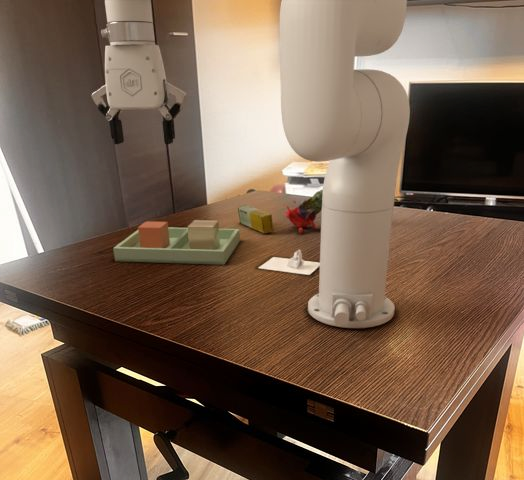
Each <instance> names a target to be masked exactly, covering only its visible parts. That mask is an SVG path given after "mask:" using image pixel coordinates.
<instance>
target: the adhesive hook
mask: <svg viewBox="0 0 524 480" xmlns="http://www.w3.org/2000/svg"><path fill="white" fill-rule="evenodd" d="M288 259H289V260H288V261H287V264H286V266H287V267H289V268H294V269H297V268H299V267H302V266H304V265H305V261H306V260H304V259H303V253H302V250H301V249H298V250H296V251H295V252H294V253H293V256H292V257H290V258H288Z"/></svg>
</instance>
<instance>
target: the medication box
mask: <svg viewBox="0 0 524 480" xmlns="http://www.w3.org/2000/svg"><path fill="white" fill-rule="evenodd" d="M237 211H238V212H237V213H238V218H239V224H242V225H244V226H247V227H249V228H251V229H253V230H256V231H257V232H259V233H262V234H268V233H271V232H274V224H273V223H274V222H273V215H272V213H269V212H267V211H264V210H261V209H259V208H256V207H253V206H252V205H248V204H243V205H240V206H237Z"/></svg>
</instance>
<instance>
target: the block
mask: <svg viewBox="0 0 524 480" xmlns="http://www.w3.org/2000/svg"><path fill="white" fill-rule="evenodd" d="M187 228H188V237H189V249H205V250H216V249H217V248H218V247H219V245H220V237H219V229H220V223H219V220H207V219H206V220H205V219H201V220H200V219H193V221H192V222H191V223H189V225H188V226H187Z"/></svg>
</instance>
